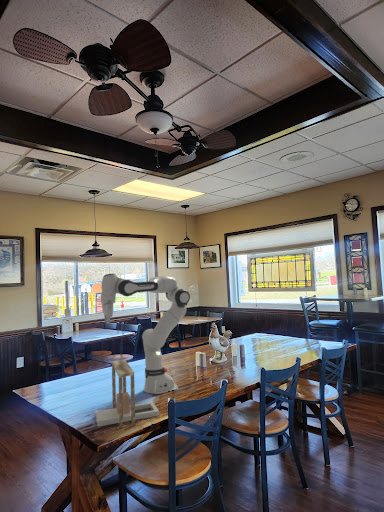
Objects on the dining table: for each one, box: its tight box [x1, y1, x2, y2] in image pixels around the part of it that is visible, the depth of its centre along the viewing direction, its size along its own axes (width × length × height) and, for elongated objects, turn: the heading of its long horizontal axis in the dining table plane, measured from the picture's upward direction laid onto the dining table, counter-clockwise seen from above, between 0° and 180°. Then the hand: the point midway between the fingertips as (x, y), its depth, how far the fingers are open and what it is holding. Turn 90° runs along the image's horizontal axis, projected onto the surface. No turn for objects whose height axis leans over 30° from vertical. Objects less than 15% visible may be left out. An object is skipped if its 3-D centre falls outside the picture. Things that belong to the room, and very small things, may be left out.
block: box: [116, 391, 131, 415], centre depth 185 cm, size 6×6×9 cm
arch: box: [111, 359, 136, 429], centre depth 185 cm, size 8×28×26 cm, turn 20°
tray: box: [94, 401, 160, 427], centre depth 185 cm, size 32×14×2 cm, turn 110°
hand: (107, 322), depth 212 cm, fingers open, 8 cm apart
